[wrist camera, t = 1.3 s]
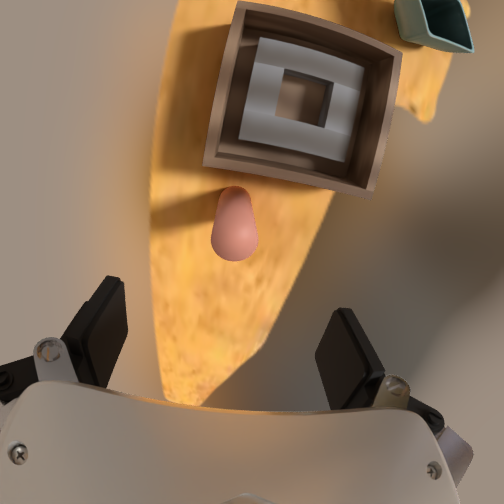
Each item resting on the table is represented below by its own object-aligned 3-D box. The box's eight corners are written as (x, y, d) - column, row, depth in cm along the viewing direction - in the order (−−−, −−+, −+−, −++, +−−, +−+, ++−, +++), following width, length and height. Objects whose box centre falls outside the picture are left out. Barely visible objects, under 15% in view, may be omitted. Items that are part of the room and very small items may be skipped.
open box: (237, 23, 23) (237, 0, 17) (374, 62, 26) (402, 52, 20) (209, 157, 31) (202, 166, 25) (347, 185, 33) (371, 200, 27)
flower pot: (390, 48, 25) (429, 35, 17) (378, -2, 21) (410, -23, 13) (436, 59, 25) (475, 54, 17) (425, 12, 21) (460, -1, 13)
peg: (221, 183, 33) (214, 214, 22) (253, 188, 33) (262, 222, 22) (216, 214, 34) (208, 257, 24) (247, 218, 35) (253, 264, 24)
